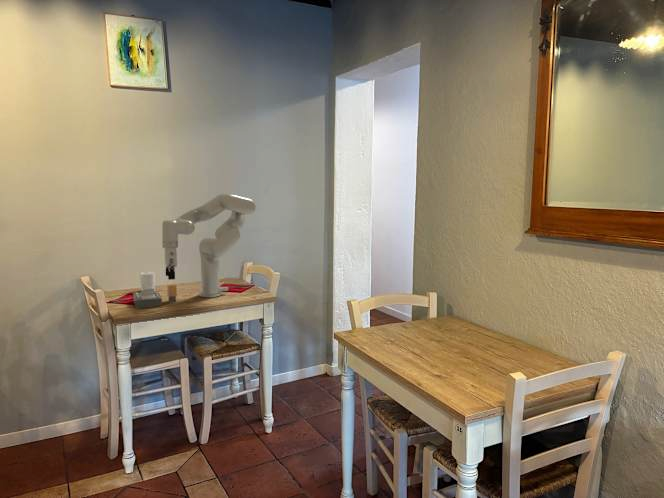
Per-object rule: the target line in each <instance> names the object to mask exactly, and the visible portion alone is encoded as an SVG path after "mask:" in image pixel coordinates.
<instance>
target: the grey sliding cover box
mask: <svg viewBox="0 0 664 498" xmlns="http://www.w3.org/2000/svg"><path fill="white" fill-rule="evenodd" d="M154 294H155V296H156V299H147V300H142V299H141V292H137V291H136V292H133V303H134V306H135V309H136V310H137V309H146V308H148V309H149V308H158V307H162V306H163V302H162V301H163V300H162V299H163V298H162V296H161V295H160V292H159V291H158V290H154Z"/></svg>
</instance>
